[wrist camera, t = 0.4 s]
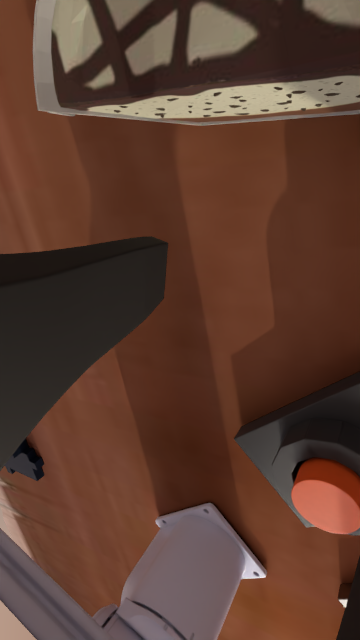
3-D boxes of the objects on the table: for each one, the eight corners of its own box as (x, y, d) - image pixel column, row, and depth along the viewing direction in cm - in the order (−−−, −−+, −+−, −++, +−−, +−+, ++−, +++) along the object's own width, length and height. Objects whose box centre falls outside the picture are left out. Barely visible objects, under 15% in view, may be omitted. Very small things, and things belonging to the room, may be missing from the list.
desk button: (325, 513, 21) (319, 537, 19) (286, 465, 21) (277, 487, 20) (381, 502, 19) (378, 529, 17) (337, 449, 19) (331, 472, 17)
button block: (311, 511, 25) (299, 553, 23) (241, 426, 26) (221, 457, 23) (478, 478, 18) (489, 533, 16) (378, 362, 19) (372, 397, 16)
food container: (492, -112, 11) (664, -678, 4) (436, 108, 14) (466, 54, 6) (173, -14, 17) (-20, -149, 9) (177, 127, 20) (27, 111, 12)
